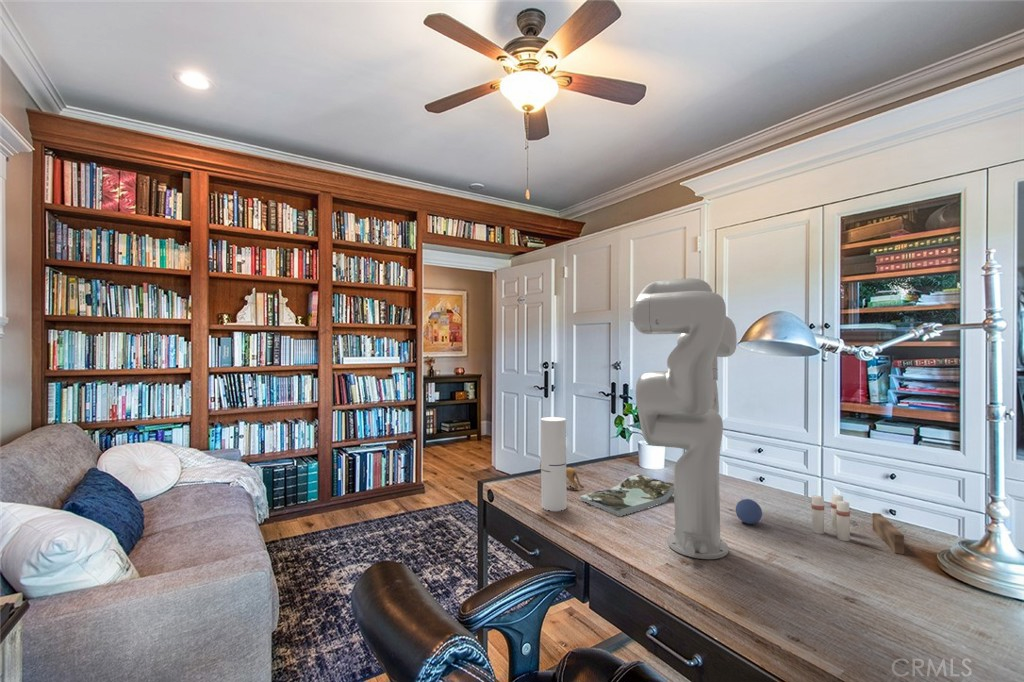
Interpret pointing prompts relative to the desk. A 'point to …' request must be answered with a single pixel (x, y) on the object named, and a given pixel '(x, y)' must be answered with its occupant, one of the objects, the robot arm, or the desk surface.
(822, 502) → the front pin
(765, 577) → the desk surface
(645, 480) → the topographical model
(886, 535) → the stopper rail
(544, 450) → the cylindrical container
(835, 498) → the rear pin far
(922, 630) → the desk surface
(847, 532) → the rear pin near
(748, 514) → the ball
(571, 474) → the lion figurine
